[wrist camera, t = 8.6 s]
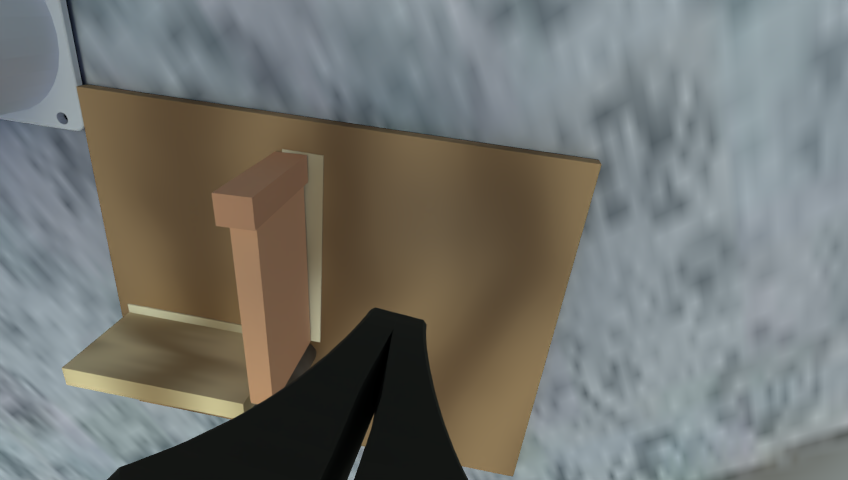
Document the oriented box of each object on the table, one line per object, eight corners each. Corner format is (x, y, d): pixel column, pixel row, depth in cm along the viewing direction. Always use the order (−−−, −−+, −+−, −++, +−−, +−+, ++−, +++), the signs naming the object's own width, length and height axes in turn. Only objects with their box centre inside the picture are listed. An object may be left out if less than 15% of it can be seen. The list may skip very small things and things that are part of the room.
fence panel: (314, 341, 25) (272, 416, 20) (287, 337, 25) (240, 411, 20) (306, 154, 20) (252, 197, 16) (274, 151, 21) (211, 192, 16)
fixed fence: (133, 329, 27) (55, 399, 22) (129, 308, 26) (47, 375, 21) (316, 364, 26) (274, 444, 21) (316, 343, 25) (273, 420, 20)
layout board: (146, 393, 29) (138, 401, 29) (86, 84, 21) (74, 86, 21) (512, 467, 28) (512, 477, 27) (598, 159, 20) (601, 165, 19)
